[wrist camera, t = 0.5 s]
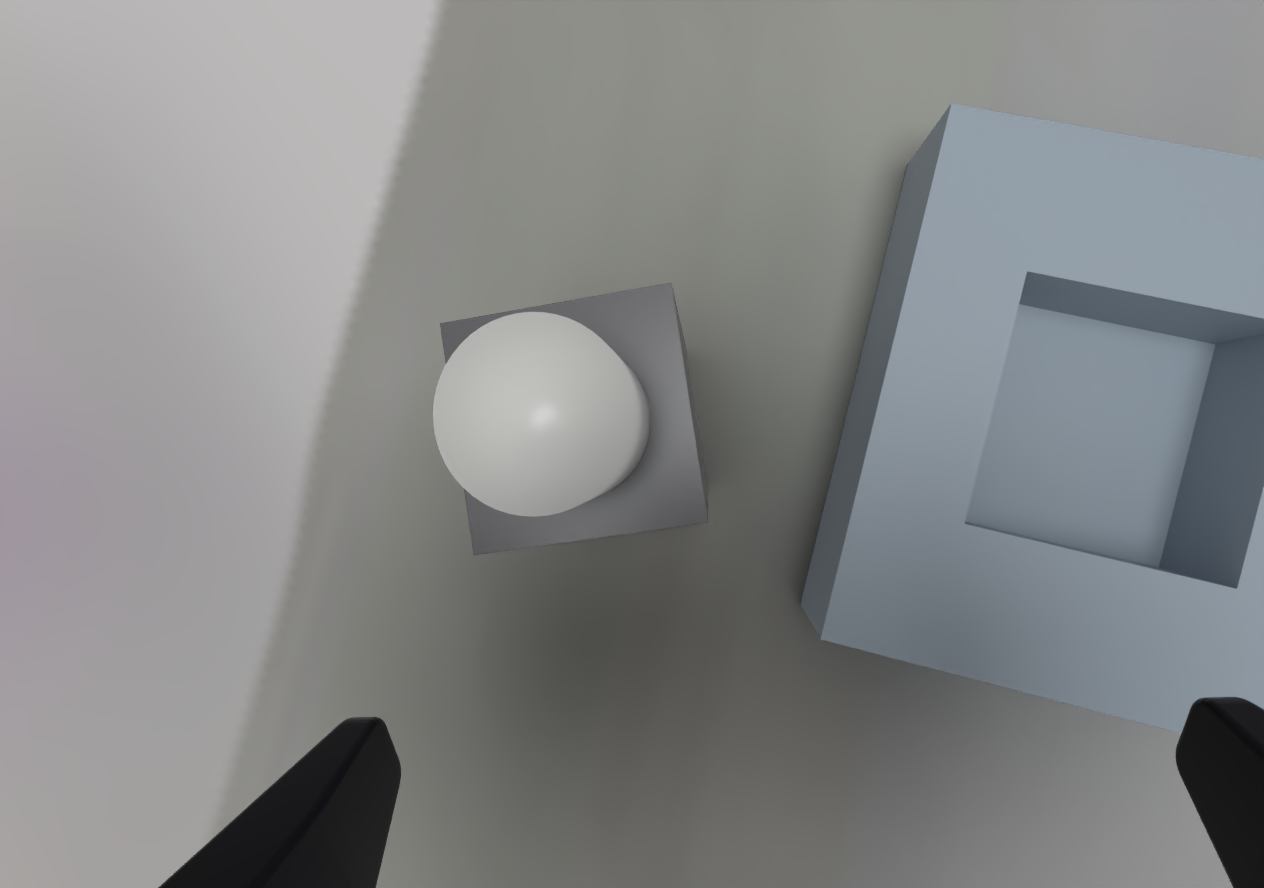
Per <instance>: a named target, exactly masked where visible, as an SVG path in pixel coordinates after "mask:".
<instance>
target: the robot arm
mask: <svg viewBox="0 0 1264 888" xmlns="http://www.w3.org/2000/svg"><path fill="white" fill-rule="evenodd" d="M1176 763H1177V767H1178V770H1179V773H1180V775H1181V778H1182V780H1183V782H1184V784H1185V786H1186V788H1187V790H1188V793H1189V795H1190V797H1191V799H1192V801H1193V803H1194V805H1195V807H1196V809H1197V812H1198V814H1199V816H1200V818H1201V820H1202V822H1203V824H1204V826H1205V829H1206V831H1207V833H1208V835H1209V837H1210V839H1211V841H1212V843H1213V846H1214V848H1215V850H1216V852H1217V854H1218V856H1219V858H1220V860H1221V862H1222V865H1223V867H1224V869H1225V871H1226V873H1227V875H1228V877H1229V879H1230V882H1231V884H1232V886H1233V888H1264V709H1262V708H1261V707H1259V706H1257V705H1256V704H1254V703H1252V702H1250V701H1248V700H1246V699H1243V698H1239V697H1204V698H1199V699H1198V700H1196V701H1195V702H1194V703H1193V704H1192V706H1191V708H1190V711H1189V714H1188V716H1187V719H1186V722H1185V725H1184V727H1183V730H1182V733H1181V736H1180V739H1179V741H1178V744H1177V748H1176ZM400 779H401V767H400V761H399V758H398V756H397V753H396V750H395V748H394V745H393V742H392V740H391V737H390V735H389V732H388V729H387V727H386V724H385V722H384V721H383V720H382V719H380V718H378V717H354V718H349V719H346V720H345V721H343V722H342V723H340V724H339V725H338V726H337V727H336V728H335V729H333V730H332V731H331V732H330V733H329V734H328V735H327V736H326V737H325V738H324V739H322V740H321V741H320V742H319V743H318V744H317V745H316V746H315V747H314V748H312V749H311V750H310V751H309V752H308V753H307V754H306V755H305V756H304V757H302V758H301V759H300V760H299V761H298V762H297V763H296V764H295V765H294V766H293V767H291V768H290V769H289V770H288V771H287V772H286V773H285V774H284V775H283V776H281V777H280V778H279V779H278V780H277V781H276V782H275V783H274V784H273V785H271V786H270V787H269V788H268V789H267V790H266V791H265V792H264V793H263V794H261V795H260V796H259V797H258V798H257V799H256V800H255V801H254V802H253V803H252V804H250V805H249V806H248V807H247V808H246V809H245V810H244V811H243V812H242V813H240V814H239V815H238V816H237V817H236V818H235V819H234V820H233V821H232V822H230V823H229V824H228V825H227V826H226V827H225V828H224V829H223V830H222V831H221V832H219V833H218V834H217V835H216V836H215V837H214V838H213V839H212V840H211V841H209V842H208V843H207V844H206V845H205V846H204V847H203V848H202V849H201V850H199V851H198V852H197V853H196V854H195V855H194V856H193V857H192V858H191V859H190V860H188V861H187V862H186V863H185V864H184V865H183V866H182V867H181V868H180V869H178V870H177V871H176V872H175V873H174V874H173V875H172V876H171V877H170V878H168V879H167V880H166V881H165V882H164V883H163V884H162V885H161V886H160V887H158V888H376V884H377V880H378V876H379V871H380V867H381V863H382V858H383V854H384V850H385V846H386V841H387V837H388V833H389V828H390V824H391V820H392V815H393V811H394V807H395V802H396V798H397V794H398V789H399V785H400Z"/></svg>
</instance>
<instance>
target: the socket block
mask: <svg viewBox="0 0 1264 888" xmlns="http://www.w3.org/2000/svg"><path fill="white" fill-rule="evenodd" d="M800 605H801V607H802V608H803V610H804V612H805V613H806V615H807V617H808V619H809V620H810V622H811V624H812V626H813V627H814V629H815V631H816V632H817V634H818V636H819V638H820V639H821V640H824V641H828V642H832V643H836V644H840V645H844V646H847V647H851V648H855V649H859V650H863V651H867V652H870V653H874V654H878V655H882V656H886V657H890V658H893V659H897V660H901V661H905V662H909V663H913V664H916V665H920V666H924V667H928V668H932V669H936V670H939V671H943V672H947V673H951V674H955V675H959V676H962V677H966V678H970V679H974V680H978V681H982V682H986V683H989V684H993V685H997V686H1001V687H1005V688H1009V689H1012V690H1016V691H1020V692H1024V693H1028V694H1032V695H1035V696H1039V697H1043V698H1047V699H1051V700H1055V701H1058V702H1062V703H1066V704H1070V705H1074V706H1078V707H1081V708H1085V709H1089V710H1093V711H1097V712H1101V713H1104V714H1108V715H1112V716H1116V717H1120V718H1124V719H1127V720H1131V721H1135V722H1139V723H1143V724H1147V725H1150V726H1154V727H1158V728H1162V729H1166V730H1170V731H1173V732H1177V733H1182V730H1183V727H1184V725H1185V722H1186V719H1187V716H1188V714H1189V711H1190V708H1191V706H1192V704H1193V703H1194V702H1195V701H1196V700H1198V699H1199V698H1204V697H1239V698H1243V699H1246V700H1248V701H1250V702H1252V703H1254V704H1256V705H1257V706H1259V707H1261V708H1262V709H1264V159H1261V158H1255V157H1250V156H1244V155H1238V154H1233V153H1227V152H1222V151H1216V150H1210V149H1205V148H1199V147H1193V146H1188V145H1182V144H1177V143H1171V142H1165V141H1160V140H1154V139H1149V138H1143V137H1137V136H1132V135H1126V134H1121V133H1115V132H1109V131H1104V130H1098V129H1093V128H1087V127H1081V126H1076V125H1070V124H1065V123H1059V122H1053V121H1048V120H1042V119H1037V118H1031V117H1025V116H1020V115H1014V114H1008V113H1003V112H997V111H992V110H986V109H980V108H975V107H969V106H964V105H958V104H952V103H951V105H950V106H949V108H948V109H947V110H946V112H945V113H944V115H943V116H942V117H941V119H940V120H939V122H938V123H937V124H936V126H935V127H934V129H933V130H932V131H931V133H930V134H929V136H928V137H927V138H926V140H925V141H924V143H923V144H922V145H921V147H920V148H919V150H918V151H917V152H916V154H915V155H914V157H913V158H912V159H911V161H910V162H909V164H908V165H907V168H906V172H905V176H904V180H903V184H902V189H901V193H900V197H899V201H898V205H897V209H896V213H895V217H894V221H893V226H892V230H891V234H890V238H889V242H888V246H887V250H886V254H885V258H884V263H883V267H882V271H881V275H880V279H879V283H878V287H877V291H876V295H875V300H874V304H873V308H872V312H871V316H870V320H869V324H868V328H867V332H866V337H865V341H864V345H863V349H862V353H861V357H860V361H859V365H858V369H857V374H856V378H855V382H854V386H853V390H852V394H851V398H850V402H849V406H848V411H847V415H846V419H845V423H844V427H843V431H842V435H841V439H840V444H839V448H838V452H837V456H836V460H835V464H834V468H833V472H832V476H831V481H830V485H829V489H828V493H827V497H826V501H825V505H824V509H823V513H822V518H821V522H820V526H819V530H818V534H817V538H816V542H815V546H814V550H813V555H812V559H811V563H810V567H809V571H808V575H807V579H806V583H805V587H804V592H803V596H802V600H801V604H800Z"/></svg>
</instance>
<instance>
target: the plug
mask: <svg viewBox="0 0 1264 888" xmlns="http://www.w3.org/2000/svg"><path fill="white" fill-rule="evenodd" d="M440 327H441V334H442V341H443V348H444V354H445V361H446V365H445V367H444V369H443V371H442V374H441V376H440V378H439V382H438V385H437V388H436V392H435V398H434V404H433V423H434V432H435V437H436V441H437V445H438V448H439V451H440V453H441V456H442V458H443V460H444V462H445V464H446V466H447V468H448V469H449V471H450V472H451V474H452V475H453V477H454V478H455V479H456V480H457V481H458V483H459V484H460V485H461V486H462V487H463V488H464V491H465V497H466V504H467V511H468V518H469V525H470V531H471V538H472V545H473V552H474V555H480V554H487V553H494V552H501V551H508V550H515V549H523V548H530V547H537V546H544V545H551V544H558V543H566V542H573V541H580V540H587V539H594V538H601V537H609V536H616V535H623V534H630V533H637V532H644V531H652V530H659V529H666V528H673V527H680V526H688V525H695V524H702V523H708V488H707V481H706V474H705V468H704V461H703V455H702V448H701V442H700V435H699V429H698V422H697V416H696V409H695V402H694V396H693V389H692V383H691V376H690V370H689V363H688V357H687V350H686V346H685V341H684V337H683V333H682V328H681V324H680V319H679V315H678V310H677V306H676V302H675V297H674V293H673V288H672V284H671V283H666V284H661V285H655V286H649V287H644V288H638V289H632V290H627V291H621V292H615V293H610V294H604V295H598V296H593V297H587V298H581V299H576V300H570V301H564V302H559V303H553V304H547V305H542V306H536V307H530V308H525V309H519V310H513V311H508V312H502V313H496V314H491V315H485V316H479V317H474V318H468V319H462V320H457V321H451V322H445V323H440Z"/></svg>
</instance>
